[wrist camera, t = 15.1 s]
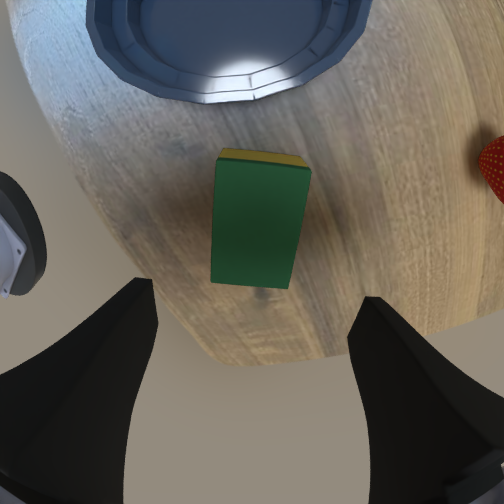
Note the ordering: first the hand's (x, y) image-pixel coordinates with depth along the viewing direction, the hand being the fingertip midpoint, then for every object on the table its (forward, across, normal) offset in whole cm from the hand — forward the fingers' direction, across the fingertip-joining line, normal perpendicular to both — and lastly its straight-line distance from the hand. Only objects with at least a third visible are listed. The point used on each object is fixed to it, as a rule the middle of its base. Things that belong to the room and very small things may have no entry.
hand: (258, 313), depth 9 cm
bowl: (+9, +3, -13) cm, 16 cm away
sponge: (+9, 0, 0) cm, 9 cm away
